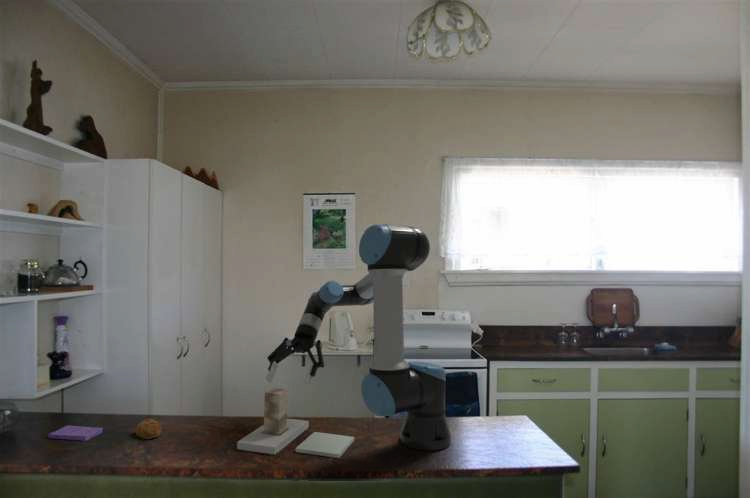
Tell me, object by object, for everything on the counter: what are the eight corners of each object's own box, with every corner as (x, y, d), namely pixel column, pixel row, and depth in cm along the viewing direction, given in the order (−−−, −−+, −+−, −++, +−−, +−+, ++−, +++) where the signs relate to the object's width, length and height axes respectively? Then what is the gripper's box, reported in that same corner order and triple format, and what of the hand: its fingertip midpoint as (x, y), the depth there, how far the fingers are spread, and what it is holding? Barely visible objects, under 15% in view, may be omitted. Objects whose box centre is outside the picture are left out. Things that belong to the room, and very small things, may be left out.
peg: (286, 435, 136) (287, 389, 137) (278, 441, 132) (279, 394, 132) (271, 433, 138) (273, 388, 138) (263, 439, 133) (264, 392, 134)
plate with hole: (308, 427, 144) (308, 421, 144) (275, 454, 122) (275, 447, 123) (275, 423, 147) (275, 417, 147) (237, 449, 126) (237, 441, 126)
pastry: (166, 437, 134) (166, 424, 134) (141, 443, 130) (142, 429, 130) (156, 428, 141) (157, 416, 141) (133, 433, 137) (133, 421, 137)
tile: (354, 440, 133) (354, 436, 133) (338, 458, 121) (338, 454, 121) (314, 435, 137) (314, 431, 137) (295, 451, 125) (295, 448, 125)
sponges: (85, 442, 130) (85, 436, 130) (47, 439, 132) (47, 433, 132) (103, 433, 137) (103, 427, 137) (66, 430, 139) (67, 424, 139)
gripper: (343, 338, 157) (325, 392, 142) (280, 333, 164) (257, 385, 150) (338, 324, 152) (319, 379, 138) (273, 321, 160) (249, 372, 145)
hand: (287, 382), depth 144 cm, fingers open, 13 cm apart
